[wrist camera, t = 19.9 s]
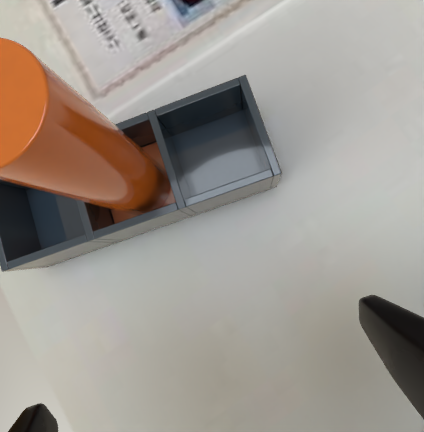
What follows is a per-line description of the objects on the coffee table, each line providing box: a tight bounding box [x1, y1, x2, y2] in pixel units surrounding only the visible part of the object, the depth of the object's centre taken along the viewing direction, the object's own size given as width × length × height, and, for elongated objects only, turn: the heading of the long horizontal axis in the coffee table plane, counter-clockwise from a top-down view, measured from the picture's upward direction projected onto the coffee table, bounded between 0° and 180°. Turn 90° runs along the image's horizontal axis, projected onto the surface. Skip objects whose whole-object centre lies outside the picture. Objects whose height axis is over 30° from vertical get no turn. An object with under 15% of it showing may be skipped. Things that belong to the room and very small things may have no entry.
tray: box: [0, 75, 282, 272], centre depth 21 cm, size 16×6×4 cm, turn 108°
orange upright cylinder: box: [0, 38, 170, 215], centre depth 16 cm, size 4×4×13 cm
